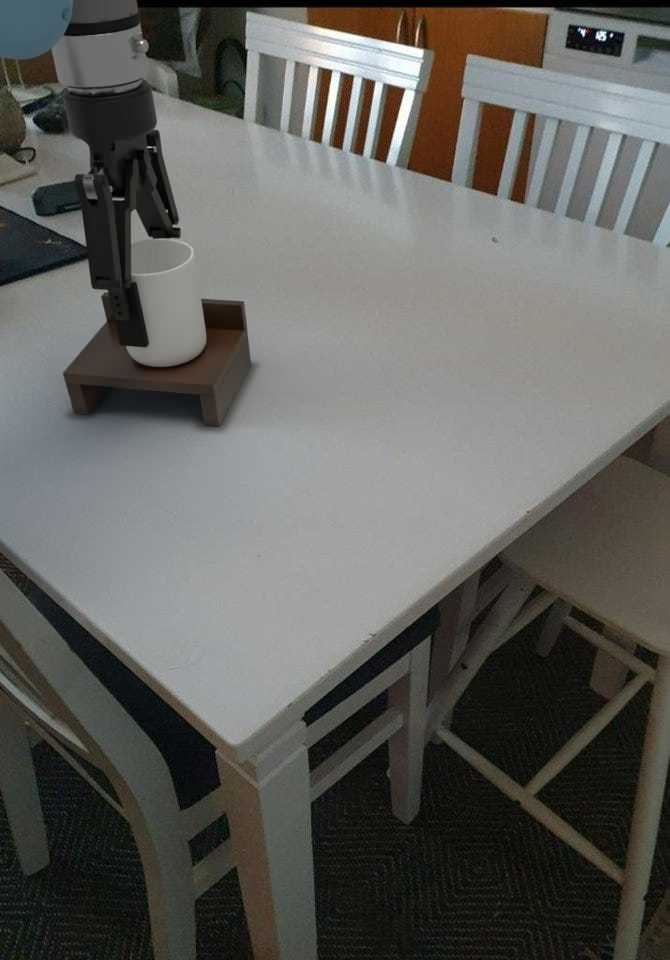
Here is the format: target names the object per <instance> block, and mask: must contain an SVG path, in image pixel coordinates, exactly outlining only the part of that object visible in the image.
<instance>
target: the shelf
mask: <svg viewBox="0 0 670 960" xmlns="http://www.w3.org/2000/svg"><path fill="white" fill-rule="evenodd" d="M100 297H101V302H102V306H103V310H104V315H105V319H106V322H105V323H104V324H103V325H102V326H101V327H100V328H99V330H97V332H96V333H95V334H94V335H93V337H92V338H91V339H90V340H89V342H88V343H87V344H86V345H85V346H84V347H83V348H82V350H81V351H80V352H79V353H78V354H77V356H76V357H75V358H74V359H73V360H72V361H71V363H70V364H69V365H68V366H67V368H65V370H64V371H63V372H62V376H63V379H64V383H65V386H66V390H67V393H68V398H69V400H70V403H71V407H72V411H73V414H76V415H85V416H86V415H87V416H88V415H89V414H90V413H91V412H92V411H93V409H94V408H95V406H96V405H97V404H98V402H99V401H100V400H101V399H102V398H103V396H104V394H105V393H106V392H107V390H108V389H109V388H121V389H132V390H144V391H155V392H167V393H178V394H190V395H199V400H200V407H201V412H202V417H203V418H202V419H203V423H204V426H206V427H218V428H220V426H221V425H222V423H223V420H224V418H225V417H226V415H227V414H228V411H229V409H230V407H231V405H232V404H233V401H234V400H235V398H236V395H237V394H238V392H239V390H240V388H241V387H242V384H243V382H244V380H245V379H246V377H247V375H248V372H249V371H250V369H251V367H252V360H251V358H252V357H251V350H250V342H249V332H248V323H247V316H246V315H247V314H246V306H245V301H244V300H230V299H216V298H201V302H202V309H203V315H204V322H205V329H206V344H205V347H204V349H203V350H202V352H201V353H200V354H199V355H198V356H197V357H195V358H194V359H192V360H190V361H188V362H185V363H182V364H179V365H175V366H169V367H152V366H147V365H143V364H141V363H139V362H137V361H135V360H134V359H133V358H132V357H131V356H130V354H129V353H128V350H127V347H126V346H120V341H119V337H118V333H117V328H116V324H115V320H114V315H113V311H112V307H111V302H110V298H109V294H108V292H104V293H102V295H100Z"/></svg>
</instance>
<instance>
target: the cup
mask: <svg viewBox="0 0 670 960" xmlns="http://www.w3.org/2000/svg"><path fill="white" fill-rule="evenodd" d="M195 255H196V254H195V250H194V248H193V247H192V246H191V244H189V243H187V242H184V241H183V240H179V239H178V240H177V239H175V238H171V239H163V238H158V239H153V238H148V239H142V240H137V241H131V282H137V287H138V292H139V297H140V302H141V306H142V311H143V316H144V321H145V326H146V331H147V336H148V340H149V345H148V346H147V347H133V346H126V347H127V350H128V353H129V354H130V356H131V357H132V358H133V359H134V360H135V361H137V362H139V363H141V364H143V365H147V366H152V367H169V366H175V365H179V364H182V363H185V362H188V361H190V360H192V359H194V358H195V357H197V356H198V355H199V354H200V353H201V352H202V350H203V349H204V347H205V344H206V329H205V322H204V315H203V309H202V302H201V299H202V297H201V290H200V289H201V288H200V281H199V276H198V275H199V274H198V269H197V261H196V257H195Z"/></svg>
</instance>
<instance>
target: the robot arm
mask: <svg viewBox="0 0 670 960" xmlns="http://www.w3.org/2000/svg"><path fill="white" fill-rule="evenodd" d="M149 48H150V46H149V43H148V41H147V40H146V39H144V37H143V31H142V25H141V17H140V13H139V9H138V2H137V0H0V58H2V59H3V58H4V59H8V60H9V59H10V60H28V59H29V60H30V59H32V58H36V57H39V56H41V55H44V54H46V53H47V52H49V51H50V50H51V53H52V58H53V63H54V67H55V73H56V77H57V81H58V83H59V84H61V85H63V86H64V87H65V88H64V89H63V92H62V94H61V97H62V102H63V105H64V110H65V114H66V119H67V122H68V128H69V131H70V133H71V134H72V136H74V137H75V138H76V139H78V140H81V141H83V142H84V143H85V144H86V145H87V146H88V150H89V152H88V153H89V168H90V170H89V171H88V173H76V174H75V175H74V186H75V189H76V192H77V196H78V199H79V202H80V207H81V208H80V209H81V215H82V222H83V230H84V238H85V246H86V255H87V263H88V271H89V279H90V285H91V288H92V289H93V290H101V291H107V293H108V294H109V298H110V302H111V307H112V311H113V315H114V320H115V324H116V328H117V333H118V337H119V341H120V346H133V347H147V346H148V345H149V340H148V336H147V331H146V326H145V321H144V316H143V311H142V306H141V302H140V297H139V292H138V287H137V282H131V243H132V212H133V211H135V212H136V213H137V215H138V217H139V220H140V221H141V223H142V226H143V228H144V230H145V232H146V234H147V236H148V237H149V238H152V239H158V238H163V239H180V238H181V235H182V230H181V229H182V228H181V227H176V226H178V224H179V222H180V216H179V212H178V208H177V204H176V200H175V197H174V193H173V190H172V185H171V182H170V178H169V174H168V170H167V167H166V163H165V159H164V156H163V148H162V142H161V141H162V140H161V139H162V138H161V133H160V130H159V129H156V127H157V124H158V119H157V113H156V112H157V111H156V106H155V100H154V93H153V88H152V85H151V84H150V83H149V82H148V81H147V80H146V79H145V78H146V77H147V75H148V74H149V68H148V62H147V55H146V53H147V52H148V50H149ZM121 199H122V200H121ZM174 226H175V227H174Z"/></svg>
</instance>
